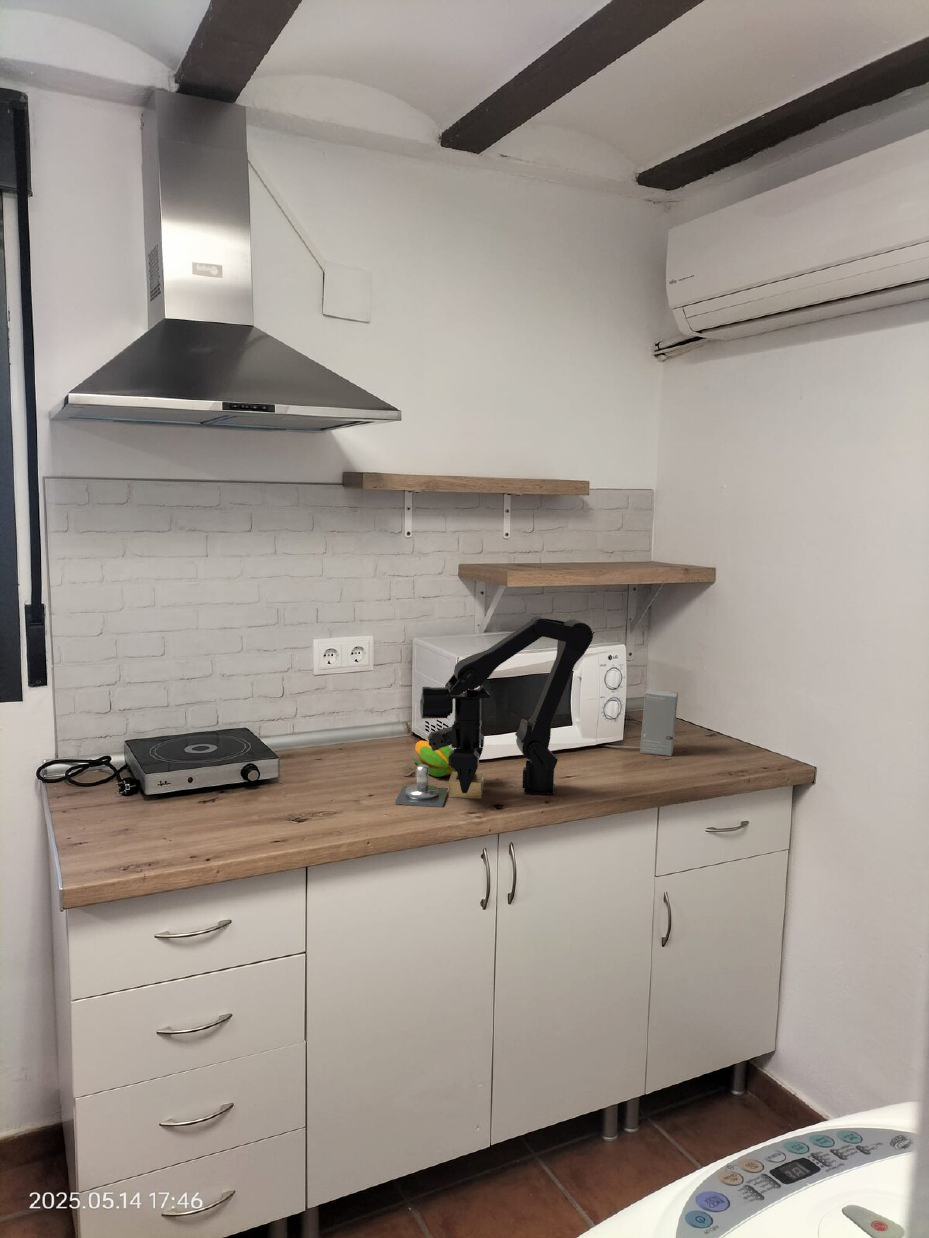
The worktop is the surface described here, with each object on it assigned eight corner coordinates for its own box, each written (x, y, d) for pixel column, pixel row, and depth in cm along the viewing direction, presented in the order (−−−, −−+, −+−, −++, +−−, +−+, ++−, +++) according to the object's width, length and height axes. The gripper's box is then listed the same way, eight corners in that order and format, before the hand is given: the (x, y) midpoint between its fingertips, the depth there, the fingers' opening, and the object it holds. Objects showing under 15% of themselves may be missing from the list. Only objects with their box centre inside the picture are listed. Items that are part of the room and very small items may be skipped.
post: (448, 791, 201) (448, 760, 200) (442, 806, 191) (443, 774, 190) (403, 789, 202) (403, 758, 201) (395, 804, 192) (395, 772, 191)
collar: (483, 788, 204) (483, 773, 203) (480, 798, 197) (481, 782, 196) (452, 786, 204) (452, 771, 204) (448, 796, 197) (448, 781, 197)
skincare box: (639, 753, 233) (642, 693, 231) (642, 746, 240) (645, 687, 238) (673, 757, 231) (676, 695, 229) (675, 749, 238) (678, 690, 236)
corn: (436, 750, 205) (403, 729, 223) (433, 783, 206) (401, 759, 224) (465, 749, 209) (431, 728, 227) (463, 781, 210) (428, 758, 227)
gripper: (436, 706, 208) (435, 772, 210) (425, 726, 190) (424, 798, 192) (485, 708, 207) (483, 774, 209) (478, 729, 189) (476, 801, 191)
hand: (466, 786), depth 200 cm, fingers open, 8 cm apart
